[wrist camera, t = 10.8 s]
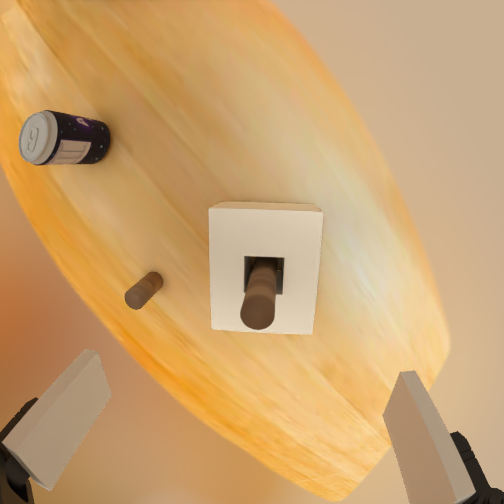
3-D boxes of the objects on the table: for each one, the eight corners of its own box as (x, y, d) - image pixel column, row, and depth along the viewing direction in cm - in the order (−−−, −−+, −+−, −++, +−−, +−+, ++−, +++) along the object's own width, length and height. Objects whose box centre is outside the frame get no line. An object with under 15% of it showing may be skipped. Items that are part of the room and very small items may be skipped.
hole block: (223, 201, 32) (208, 208, 25) (313, 204, 31) (323, 212, 24) (223, 300, 35) (211, 329, 28) (306, 304, 34) (311, 334, 27)
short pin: (145, 271, 35) (123, 288, 29) (162, 272, 35) (142, 290, 29) (147, 288, 36) (126, 308, 30) (163, 290, 35) (144, 310, 30)
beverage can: (119, 125, 30) (57, 111, 19) (106, 168, 32) (42, 171, 20) (87, 118, 30) (25, 106, 19) (76, 158, 32) (11, 160, 20)
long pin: (256, 247, 33) (240, 298, 20) (277, 248, 33) (275, 300, 19) (255, 267, 34) (240, 328, 20) (276, 268, 33) (273, 330, 20)
